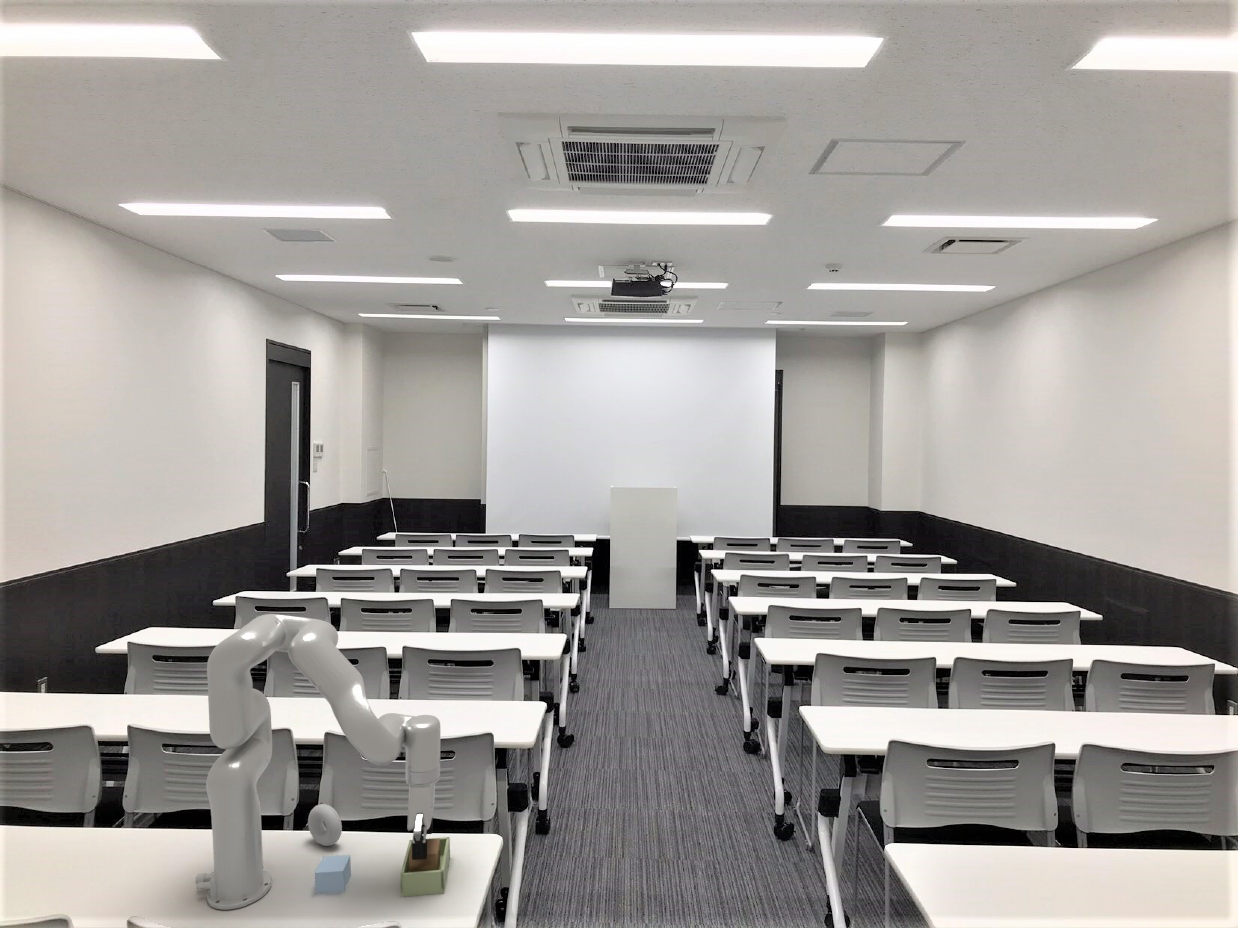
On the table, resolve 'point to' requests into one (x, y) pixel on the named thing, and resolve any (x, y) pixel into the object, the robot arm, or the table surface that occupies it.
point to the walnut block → (432, 858)
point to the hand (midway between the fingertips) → (422, 845)
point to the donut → (318, 828)
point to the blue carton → (332, 874)
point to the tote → (426, 874)
